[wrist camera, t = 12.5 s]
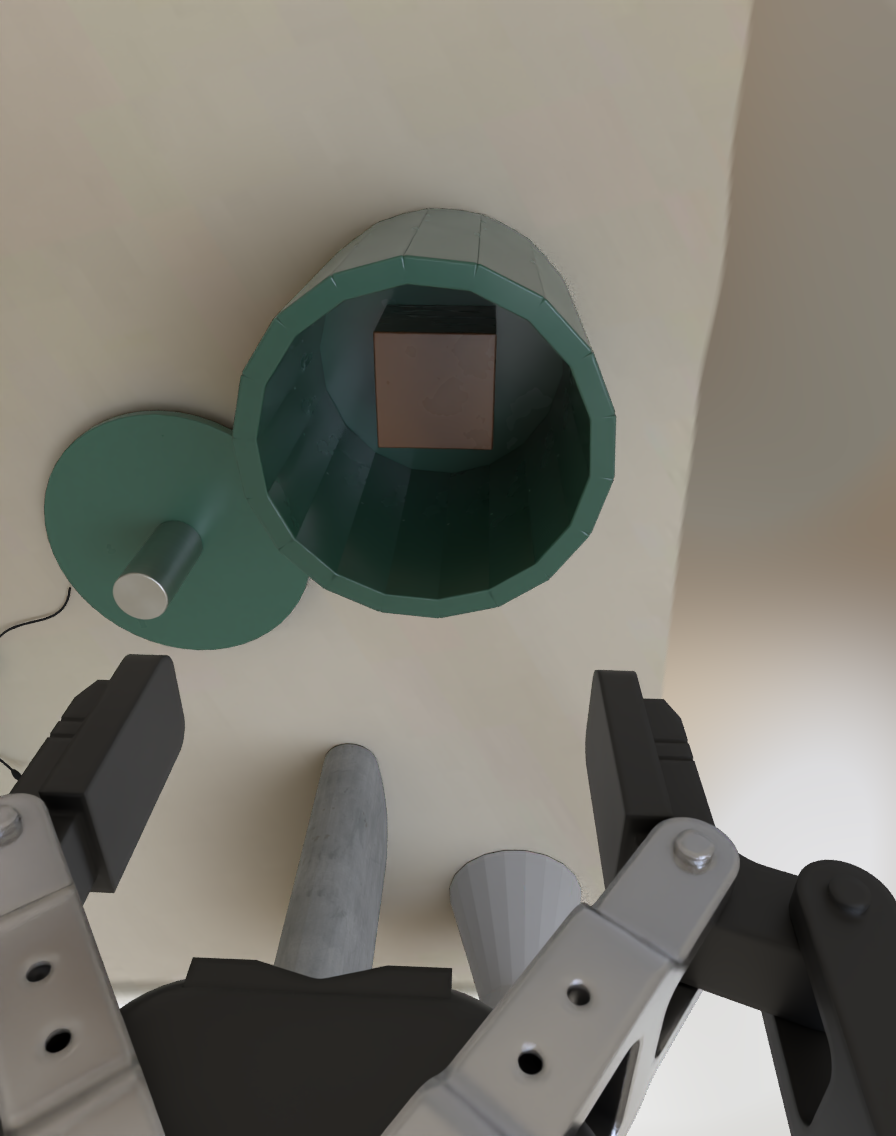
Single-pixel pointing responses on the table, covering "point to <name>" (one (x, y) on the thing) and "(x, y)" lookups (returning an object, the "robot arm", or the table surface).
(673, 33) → the table surface
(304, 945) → the hip flask
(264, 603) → the teal disc with peg
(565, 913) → the lava lamp
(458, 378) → the block
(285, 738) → the table surface
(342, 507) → the open teal cylindrical container
